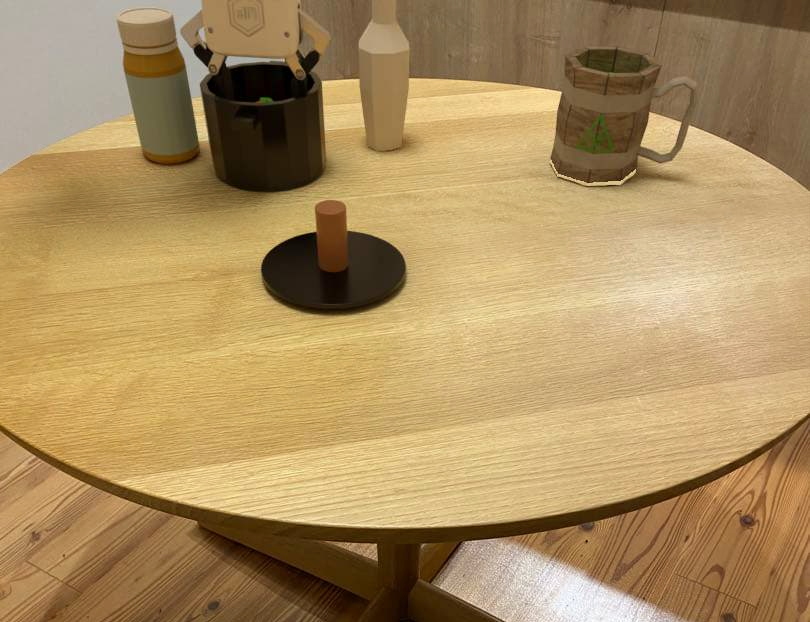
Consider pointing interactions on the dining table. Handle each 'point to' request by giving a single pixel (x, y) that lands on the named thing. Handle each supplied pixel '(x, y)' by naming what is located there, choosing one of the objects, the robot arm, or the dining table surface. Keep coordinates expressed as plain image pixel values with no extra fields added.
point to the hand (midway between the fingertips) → (263, 110)
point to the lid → (333, 264)
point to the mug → (610, 113)
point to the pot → (265, 129)
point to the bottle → (158, 85)
